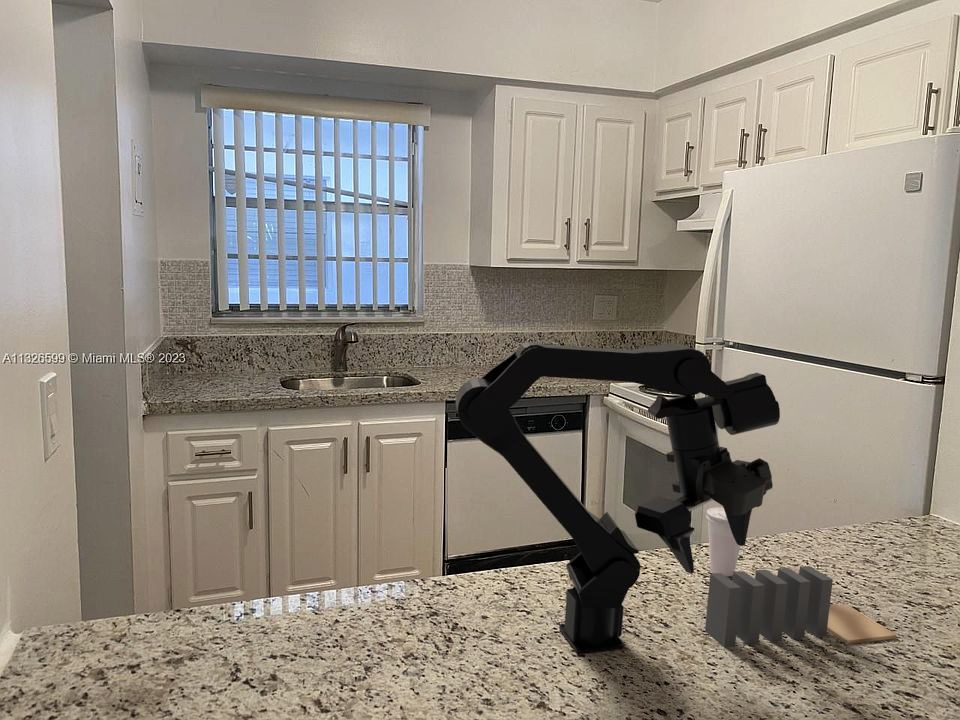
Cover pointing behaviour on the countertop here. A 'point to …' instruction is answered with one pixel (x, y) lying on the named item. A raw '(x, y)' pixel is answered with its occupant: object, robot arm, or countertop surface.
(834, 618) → the pad
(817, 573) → the tile
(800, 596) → the tile
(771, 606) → the tile
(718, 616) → the tile
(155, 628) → the countertop surface
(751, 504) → the robot arm
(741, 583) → the tile
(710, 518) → the smoothie
